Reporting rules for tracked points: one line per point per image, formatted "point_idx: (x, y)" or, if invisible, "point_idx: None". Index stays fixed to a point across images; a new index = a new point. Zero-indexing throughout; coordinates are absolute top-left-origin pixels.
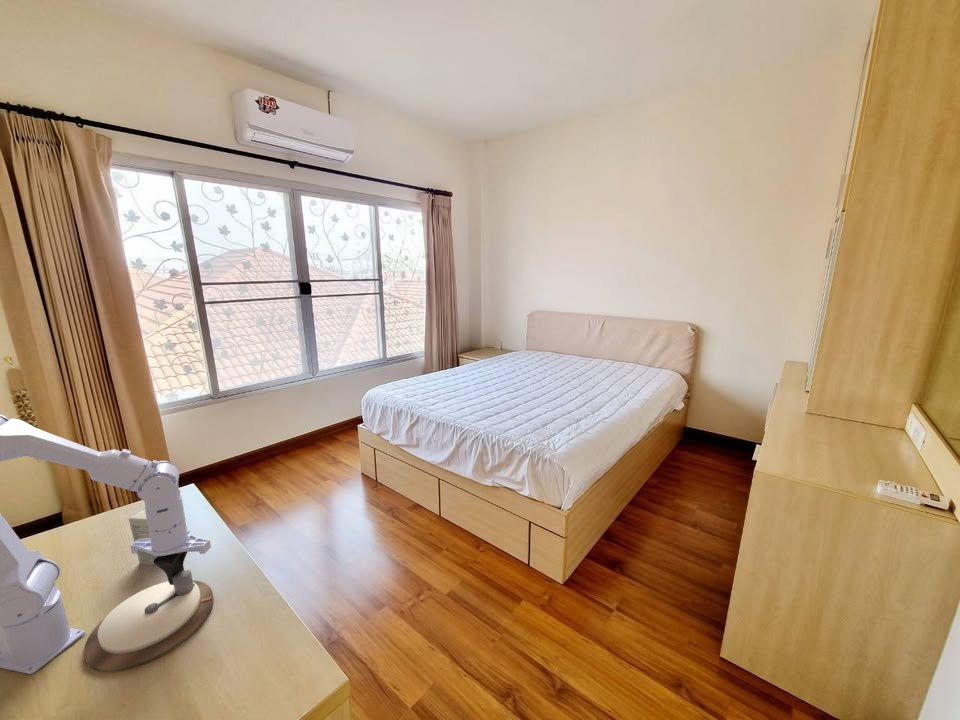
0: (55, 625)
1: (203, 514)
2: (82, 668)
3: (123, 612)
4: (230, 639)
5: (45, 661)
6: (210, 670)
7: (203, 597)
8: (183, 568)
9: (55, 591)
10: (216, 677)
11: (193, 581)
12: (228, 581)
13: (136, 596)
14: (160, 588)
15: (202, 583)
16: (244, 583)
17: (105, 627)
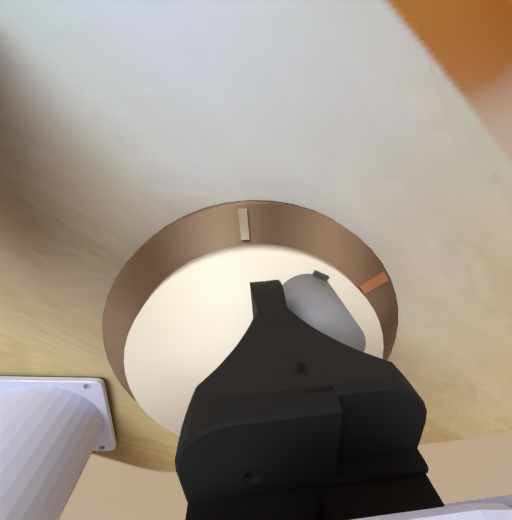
0: (59, 497)
1: None
2: None
3: (175, 388)
4: (471, 348)
5: (111, 436)
6: (455, 398)
7: (355, 274)
8: (284, 296)
9: None
10: (471, 405)
11: (264, 210)
12: (380, 169)
13: (146, 341)
14: (200, 303)
15: (309, 216)
16: (447, 175)
17: (180, 424)
